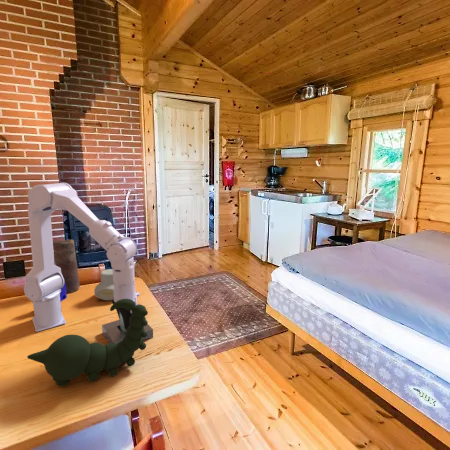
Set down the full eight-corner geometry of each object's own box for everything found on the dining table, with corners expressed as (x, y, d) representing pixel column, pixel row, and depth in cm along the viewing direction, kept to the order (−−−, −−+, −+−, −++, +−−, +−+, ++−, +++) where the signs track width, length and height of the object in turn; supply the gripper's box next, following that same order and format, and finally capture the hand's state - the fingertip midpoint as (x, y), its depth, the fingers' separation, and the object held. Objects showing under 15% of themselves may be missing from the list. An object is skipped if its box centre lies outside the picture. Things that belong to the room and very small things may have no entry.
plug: (120, 331, 87) (119, 309, 86) (131, 328, 89) (130, 306, 88) (124, 336, 85) (123, 314, 83) (135, 333, 87) (134, 311, 85)
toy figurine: (139, 355, 81) (30, 377, 69) (143, 289, 77) (28, 300, 66) (148, 377, 72) (25, 407, 61) (152, 304, 69) (23, 320, 57)
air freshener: (128, 291, 115) (127, 267, 113) (123, 301, 107) (121, 275, 105) (99, 292, 114) (97, 267, 112) (91, 302, 106) (89, 276, 104)
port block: (102, 332, 88) (101, 325, 87) (138, 321, 94) (138, 313, 94) (114, 351, 79) (114, 343, 79) (153, 337, 86) (152, 329, 86)
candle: (53, 292, 114) (47, 242, 109) (66, 285, 121) (61, 237, 116) (71, 294, 112) (66, 243, 108) (83, 286, 119) (79, 238, 115)
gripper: (148, 286, 80) (150, 332, 83) (128, 271, 91) (131, 311, 94) (122, 293, 76) (125, 341, 79) (105, 276, 87) (108, 318, 90)
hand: (127, 325), depth 86 cm, fingers closed on plug, 3 cm apart
